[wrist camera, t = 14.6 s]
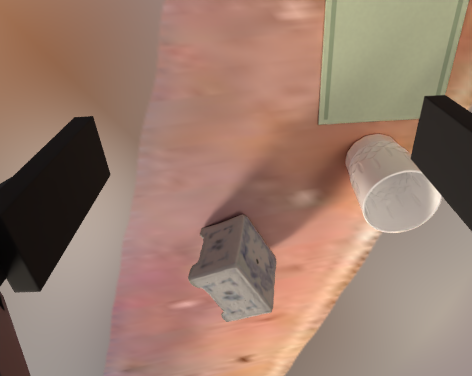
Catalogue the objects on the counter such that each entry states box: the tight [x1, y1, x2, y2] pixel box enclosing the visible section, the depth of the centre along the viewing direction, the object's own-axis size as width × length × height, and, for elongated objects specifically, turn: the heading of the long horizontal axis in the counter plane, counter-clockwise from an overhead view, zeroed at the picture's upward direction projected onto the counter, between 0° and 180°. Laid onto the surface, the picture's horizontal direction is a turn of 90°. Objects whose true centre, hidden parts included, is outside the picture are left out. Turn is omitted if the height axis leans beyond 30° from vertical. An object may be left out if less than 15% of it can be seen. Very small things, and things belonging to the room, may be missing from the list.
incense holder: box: [188, 215, 276, 322], centre depth 48 cm, size 10×8×10 cm
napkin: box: [318, 0, 469, 125], centre depth 37 cm, size 18×14×1 cm
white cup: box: [345, 134, 442, 233], centre depth 41 cm, size 8×8×10 cm
